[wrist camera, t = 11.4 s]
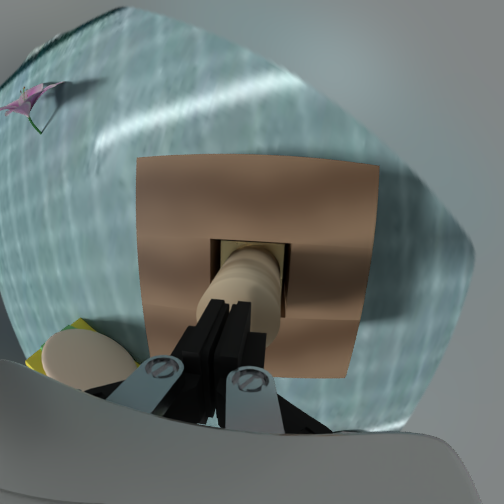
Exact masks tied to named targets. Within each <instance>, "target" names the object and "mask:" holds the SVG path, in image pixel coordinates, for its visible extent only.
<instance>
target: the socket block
mask: <svg viewBox="0 0 504 504" xmlns="http://www.w3.org/2000/svg"><path fill="white" fill-rule="evenodd" d="M378 187H379V166H376V165H370V164H363V163H355V162H347V161H339V160H330V159H320V158H308V157H295V156H279V155H255V154H192V155H168V156H152V157H139V158H137V167H136V228H137V250H138V265H139V277H140V287H141V297H142V305H143V313H144V320H145V327H146V334H147V340H148V346H149V352H150V358H151V357H153V356H158V355H169V356H170V355H171V353H172V351H173V350H174V348H175V346H176V345H177V343H178V342H179V340H180V338H181V337H182V335H183V333H184V332H185V330H186V329H187V327H188V326H196V324H197V318H196V312H197V306H198V304H199V301H200V299H201V298H202V296H203V295H204V293H205V292H206V290H207V288H208V287H209V285H210V284H211V282H212V281H213V279H214V278H215V276H216V275H217V273H218V272H219V270H220V269H221V240H222V239H227V240H245V241H262V242H279V243H285V245H284V260H283V273H282V286H281V315H280V329H279V332H278V334H277V336H276V338H275V339H274V341H273V342H272V343H271V344H270V345H269V346H268V347H266V350H265V362H264V370H266V371H268V372H269V373H270V374H271V375H272V376H273V377H287V378H345V377H346V374H347V370H348V367H349V363H350V359H351V356H352V352H353V348H354V344H355V340H356V336H357V331H358V327H359V323H360V318H361V314H362V309H363V304H364V299H365V293H366V288H367V282H368V276H369V270H370V264H371V257H372V250H373V242H374V233H375V224H376V214H377V202H378Z"/></svg>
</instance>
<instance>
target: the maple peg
mask: <svg viewBox="0 0 504 504" xmlns="http://www.w3.org/2000/svg"><path fill="white" fill-rule="evenodd" d="M211 299H221V300H225V303H228V304H229V307H230V310H231V307H232V304H237V303H238V301H245V302H251V326H250V332H260V333H267V338H266V347H268V346H269V345H270V344H271V343H272V342H273V341H274V339H275V338H276V336H277V334H278V332H279V329H280V315H281V288H280V266H279V263H278V261H277V259H276V258H275V256H274V255H273V254H272V253H271V252H270V251H268V250H267V249H265V248H263V247H260V246H256V245H247V246H242V247H240V248H238V249H236V250H235V251H233V252H232V253H231V254H230V255H229V257H228V258H227V260H226V261H225V263H224V264H223V266H222V267H221V269H220V270H219V272H218V273H217V275H216V276H215V278H214V279H213V281H212V282H211V284H210V285H209V287H208V288H207V290H206V292H205V293H204V295H203V296H202V298H201V299H200V301H199V304H198V306H197V312H196V318H197V323H198V321H199V319H200V317H201V316H202V314H203V312H204V310H205V309H206V307H207V305H208V303H209V302H210V300H211ZM230 310H229V312H230Z"/></svg>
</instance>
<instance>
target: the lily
mask: <svg viewBox="0 0 504 504" xmlns="http://www.w3.org/2000/svg"><path fill="white" fill-rule="evenodd" d="M63 82H65V81H63ZM60 83H62V82H59V83H56V84H52V85H49V86H47V87H46V88H44V89H43V83H42V84H39V85H37V86H34V87H32V88H30V89H29V90H26V91H25V92H24V89H25V86H24V88H23V94H22V95H21V96H20V98H19V99H18V100H16V101H14V102H12V103H10V104H8V105H7V106H4V107H1V108H0V111H1V110H4V109H9V110H10V111H6V112H5V116H7V115H9V114H10V113H11V112H16V113H20V114H23V115H26V116H27V117H28V119H29V121H30V123H31V124H32V126H33V127H34V128H35V129H36V130H37V131H38V132H39V133H40V134H42V132H41V131H40V130H39V129H38V128H37V127H36V126H35V125H34V123H33V122H32V120H31V118H30V115H29V113H30V111H31V109H32V107H33V106H34V104H35V103H36V101H37V100H38V98H39V97H40V96H41V95H42V94H43V93H44V92H45V91H47V90H48V89H50V88H52V87H55V86H56V85H58V84H60ZM20 92H21V91H20ZM21 93H22V92H21Z"/></svg>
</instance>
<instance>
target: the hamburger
mask: <svg viewBox="0 0 504 504" xmlns="http://www.w3.org/2000/svg"><path fill="white" fill-rule="evenodd" d="M26 365H27V366H28V367H29V368H31V369H33V370H35V371H37V372H39V373H42V374H44V375H46V376H48V377H50V378H53V379H55V380H57V381H59V382H61V383H64V384H66V385H68V386H71V387H73V388H75V389H80V390H81V391H83V392H84V391H85V390H88V389H91V388H95V387H99V386H103V385H107V384H111V383H115V382H119V381H123V380H126V379H127V378H128V377H129V376H130V375H131V374H132V373H133V372H134V371H135V370H136V369H137V368H138V367H139V366H140V364H138V363H137V362H136V361H134V360H133V358H132V357H131V355H130V354H129V353H128V352H127V351H126V350H125V349H124V348H123V347H122V346H121V345H120V344H119V343H117V342H116V341H114V340H113V339H111V338H109V337H107V336H105V335H103V334H100V333H98V332H96V331H95V330H94V329H93V328H92V327H90V326H89V325H88V324H87V323H86V322H85V321H84V320H82V319H81V318H79V319H78V320H77V321H75V322H74V323H73V324H71V325H68V326H66V327H65V328H64V329H62V330H61V331H60V332H58V333H56V334H54V335H53V336H51V337H50V338H49V339H48V340H47V341H46V343H44V344H43V345H42V346H41V349H39V350H38V351H37V352H36V353H34V354H33V355H32V356H31V357H29V358H28V359H27V360H26Z"/></svg>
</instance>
